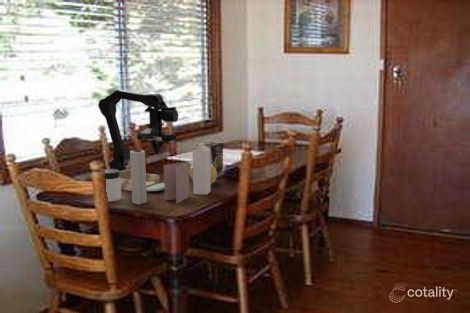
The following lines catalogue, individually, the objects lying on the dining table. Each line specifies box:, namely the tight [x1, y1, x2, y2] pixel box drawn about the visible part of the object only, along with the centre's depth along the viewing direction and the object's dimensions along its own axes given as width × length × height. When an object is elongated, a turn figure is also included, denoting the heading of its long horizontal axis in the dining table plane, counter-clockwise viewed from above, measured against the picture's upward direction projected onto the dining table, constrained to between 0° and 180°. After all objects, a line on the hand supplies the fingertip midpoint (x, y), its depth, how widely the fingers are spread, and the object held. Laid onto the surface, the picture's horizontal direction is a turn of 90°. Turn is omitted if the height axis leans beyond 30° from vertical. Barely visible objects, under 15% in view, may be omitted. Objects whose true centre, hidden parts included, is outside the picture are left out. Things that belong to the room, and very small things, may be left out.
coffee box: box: [203, 142, 224, 178], centre depth 287 cm, size 9×6×16 cm
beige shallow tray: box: [119, 167, 161, 192], centre depth 268 cm, size 14×16×7 cm
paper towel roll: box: [129, 149, 148, 206], centre depth 239 cm, size 7×6×21 cm
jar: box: [104, 168, 122, 202], centre depth 246 cm, size 9×8×12 cm
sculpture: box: [189, 163, 218, 185], centre depth 271 cm, size 12×12×11 cm
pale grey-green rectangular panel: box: [146, 182, 165, 192], centre depth 262 cm, size 1×15×10 cm
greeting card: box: [163, 161, 190, 204], centre depth 243 cm, size 11×7×15 cm, turn 123°
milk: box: [192, 141, 212, 196], centre depth 254 cm, size 6×6×22 cm
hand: (157, 154), depth 275 cm, fingers closed
